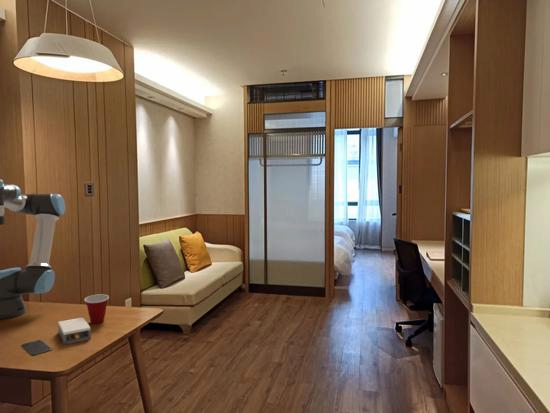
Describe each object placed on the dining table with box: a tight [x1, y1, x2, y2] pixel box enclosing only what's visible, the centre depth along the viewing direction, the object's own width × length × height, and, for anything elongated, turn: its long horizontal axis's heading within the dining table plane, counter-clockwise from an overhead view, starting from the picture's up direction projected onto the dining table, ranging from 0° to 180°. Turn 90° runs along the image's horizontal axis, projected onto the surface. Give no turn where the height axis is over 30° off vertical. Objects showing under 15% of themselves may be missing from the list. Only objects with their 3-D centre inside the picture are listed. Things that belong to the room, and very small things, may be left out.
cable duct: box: [57, 324, 92, 345], centre depth 163 cm, size 16×10×4 cm, turn 37°
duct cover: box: [58, 316, 91, 335], centre depth 163 cm, size 16×10×1 cm, turn 37°
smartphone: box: [21, 339, 53, 357], centre depth 151 cm, size 7×1×15 cm
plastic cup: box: [84, 293, 110, 325], centre depth 180 cm, size 11×11×12 cm
